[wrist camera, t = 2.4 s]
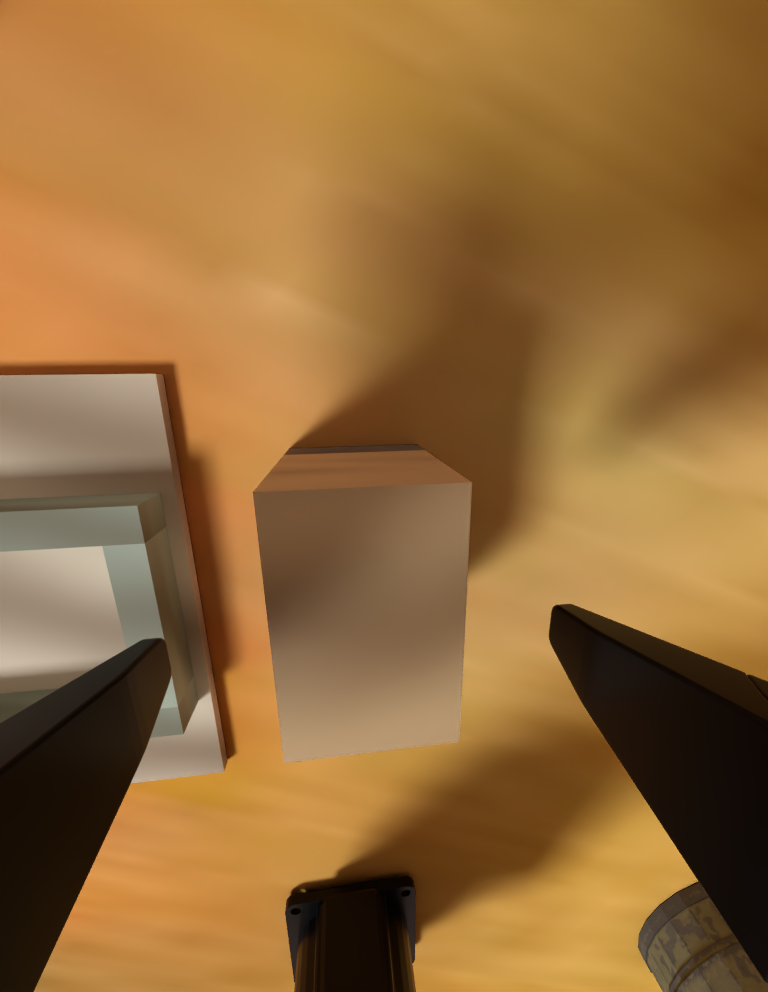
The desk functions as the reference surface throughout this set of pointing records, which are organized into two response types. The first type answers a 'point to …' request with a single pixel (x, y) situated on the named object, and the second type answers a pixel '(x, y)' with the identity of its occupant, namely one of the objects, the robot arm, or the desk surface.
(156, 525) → the socket plate
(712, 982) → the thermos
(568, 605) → the robot arm
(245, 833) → the desk surface
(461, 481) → the plug block
